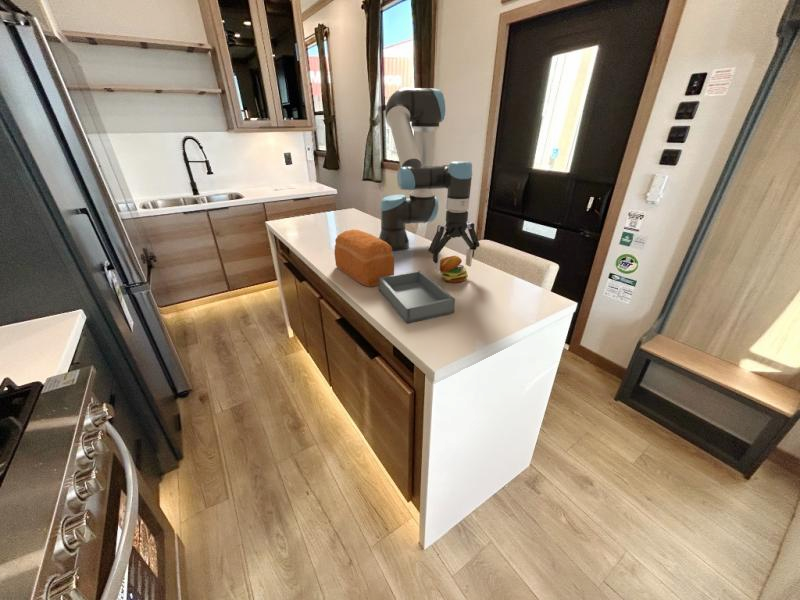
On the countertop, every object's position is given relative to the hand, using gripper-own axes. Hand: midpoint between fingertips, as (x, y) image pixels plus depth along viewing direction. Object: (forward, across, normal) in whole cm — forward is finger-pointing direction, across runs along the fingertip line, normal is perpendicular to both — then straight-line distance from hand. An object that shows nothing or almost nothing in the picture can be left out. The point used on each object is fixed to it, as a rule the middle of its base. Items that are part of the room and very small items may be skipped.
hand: (452, 268), depth 120 cm
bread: (+4, -29, +18) cm, 35 cm away
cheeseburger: (+5, 0, 0) cm, 5 cm away
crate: (+5, -21, -11) cm, 24 cm away
